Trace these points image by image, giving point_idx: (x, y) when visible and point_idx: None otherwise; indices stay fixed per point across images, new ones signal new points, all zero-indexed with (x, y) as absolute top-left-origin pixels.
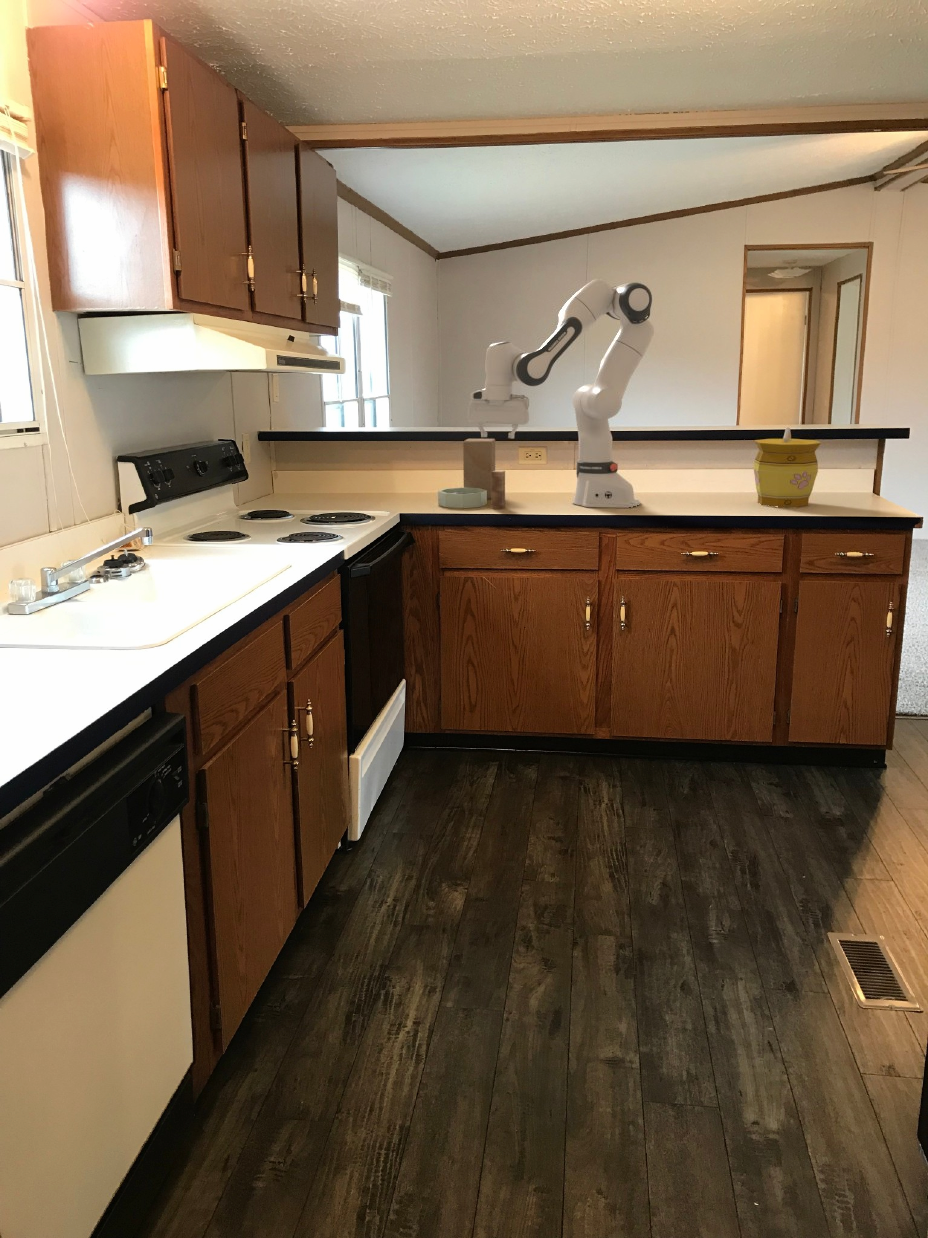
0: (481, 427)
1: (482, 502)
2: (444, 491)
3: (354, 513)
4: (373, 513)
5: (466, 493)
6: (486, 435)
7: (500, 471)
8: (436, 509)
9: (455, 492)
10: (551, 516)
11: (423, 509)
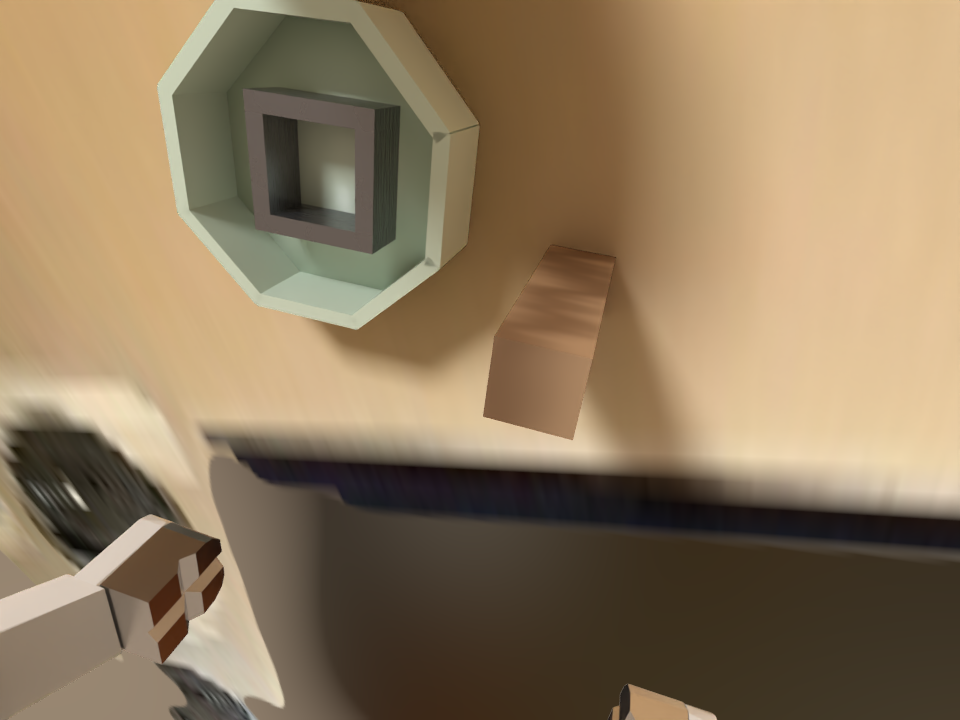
0: (11, 687)
1: (464, 218)
2: (187, 134)
3: (77, 431)
4: (127, 433)
5: (321, 123)
6: (204, 571)
7: (554, 392)
8: (287, 342)
9: (249, 119)
10: (894, 540)
11: (237, 344)
